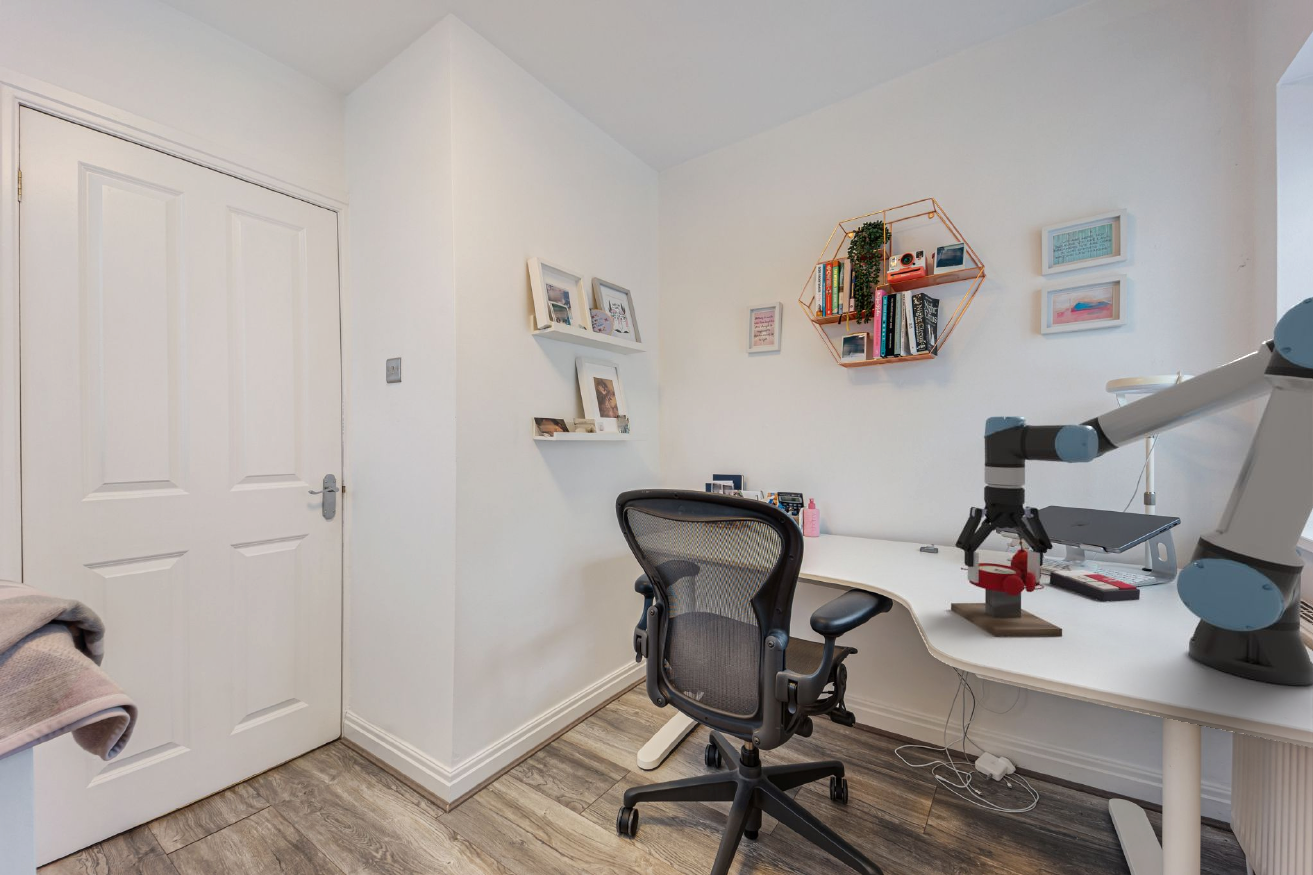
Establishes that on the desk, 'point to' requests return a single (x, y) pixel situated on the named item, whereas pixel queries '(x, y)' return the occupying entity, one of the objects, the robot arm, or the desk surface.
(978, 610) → the stand
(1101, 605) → the desk surface
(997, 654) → the desk surface
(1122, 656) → the desk surface
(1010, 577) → the alarm clock
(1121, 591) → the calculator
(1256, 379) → the robot arm
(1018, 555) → the red clay folk toy
